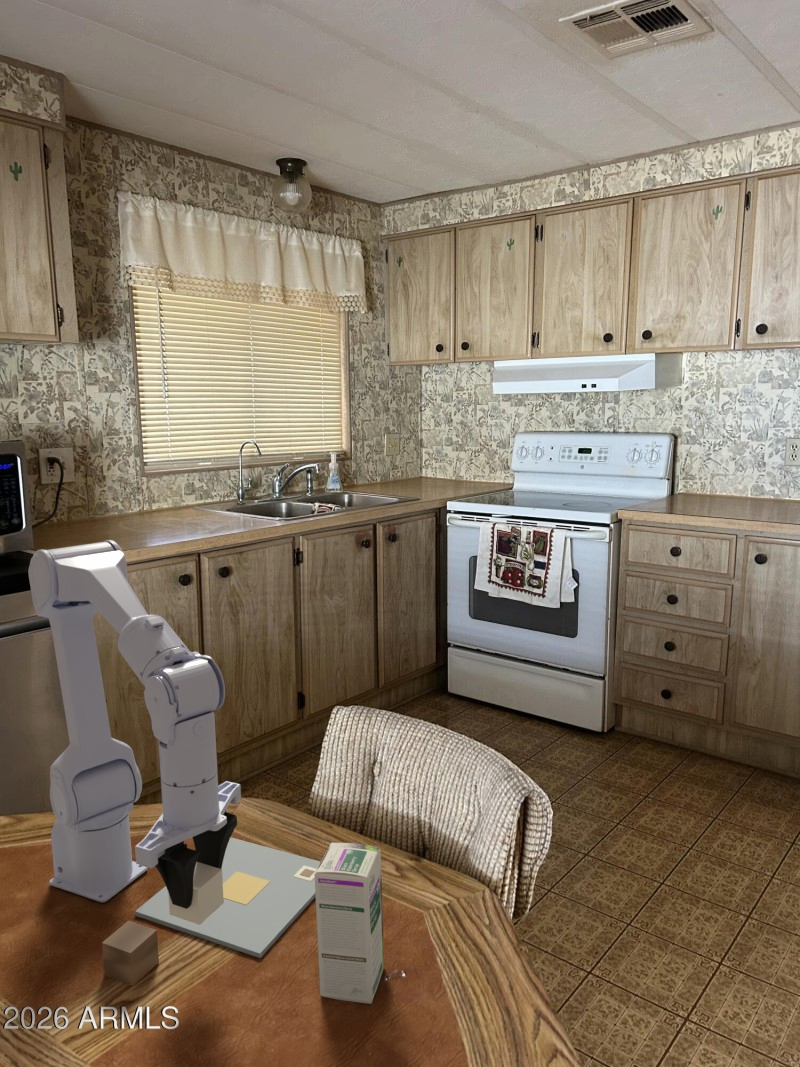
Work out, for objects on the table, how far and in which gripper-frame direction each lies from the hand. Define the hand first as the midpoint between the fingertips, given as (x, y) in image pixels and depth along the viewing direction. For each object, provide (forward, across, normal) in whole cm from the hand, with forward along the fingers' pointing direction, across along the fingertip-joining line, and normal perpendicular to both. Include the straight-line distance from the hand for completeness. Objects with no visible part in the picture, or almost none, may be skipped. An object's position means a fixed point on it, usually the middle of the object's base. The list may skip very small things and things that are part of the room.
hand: (195, 892), depth 85 cm
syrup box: (+10, +5, -16) cm, 19 cm away
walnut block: (+10, -3, +7) cm, 12 cm away
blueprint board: (+9, +13, +4) cm, 17 cm away
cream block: (+2, 0, 0) cm, 2 cm away
